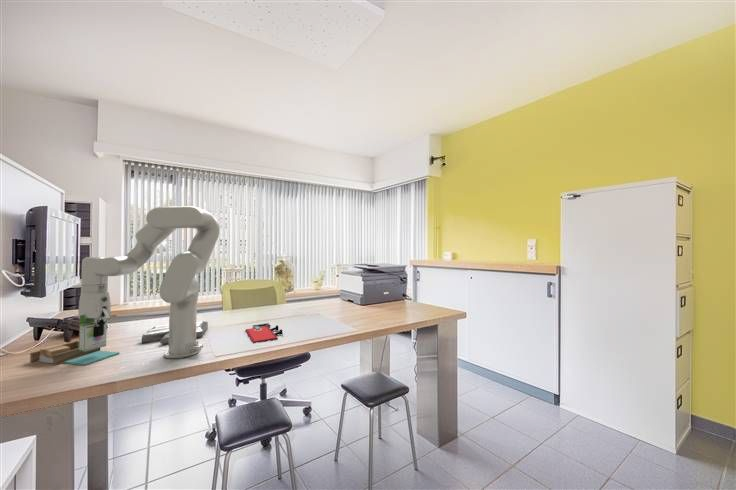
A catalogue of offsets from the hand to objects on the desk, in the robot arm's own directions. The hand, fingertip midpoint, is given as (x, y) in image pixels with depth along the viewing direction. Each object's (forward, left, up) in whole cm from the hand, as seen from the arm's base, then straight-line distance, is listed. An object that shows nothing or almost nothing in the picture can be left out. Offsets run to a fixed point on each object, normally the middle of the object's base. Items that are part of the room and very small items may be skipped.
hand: (93, 335), depth 112 cm
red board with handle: (-45, -46, -10) cm, 65 cm away
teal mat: (0, 0, -9) cm, 9 cm away
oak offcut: (+12, +4, -7) cm, 15 cm away
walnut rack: (+12, 0, -9) cm, 15 cm away
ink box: (0, 0, -5) cm, 5 cm away
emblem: (-7, -32, -10) cm, 34 cm away
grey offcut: (+12, +4, -9) cm, 16 cm away
